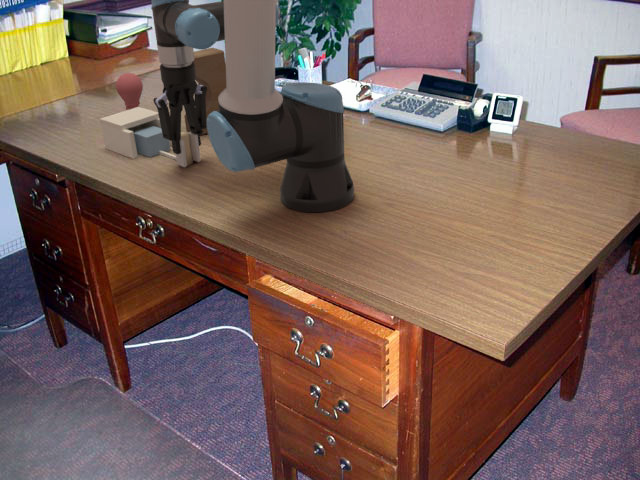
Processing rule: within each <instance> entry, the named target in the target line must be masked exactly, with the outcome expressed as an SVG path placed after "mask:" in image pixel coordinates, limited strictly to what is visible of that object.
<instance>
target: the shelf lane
mask: <svg viewBox="0 0 640 480" xmlns="http://www.w3.org/2000/svg"><path fill="white" fill-rule="evenodd" d="M99 122H100V126H101V133H102V137H103V143H104V148H105V149H106V150H108V151H111V152H114V153H116V154H119V155H122V156H124V157H127V158H130V159H133V160H134V159H138V157H139V156H138V153H137V149H136V144H135V138H134V132H136V131H139V130H142V129H145V128H148V127H151V126H155V127H158V128H161V124H160V119H159V114H158V111H156V110H155V111H154V110H151V109H148V108H144V107H136V108H133V109H130V110H126V109H125V110H122V111H120V112H118V113H114V114H111V115H107V116H104V117H102V118H101V117H100V119H99ZM169 143H170V147H171V146H172V141H170V140H169Z"/></svg>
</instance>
